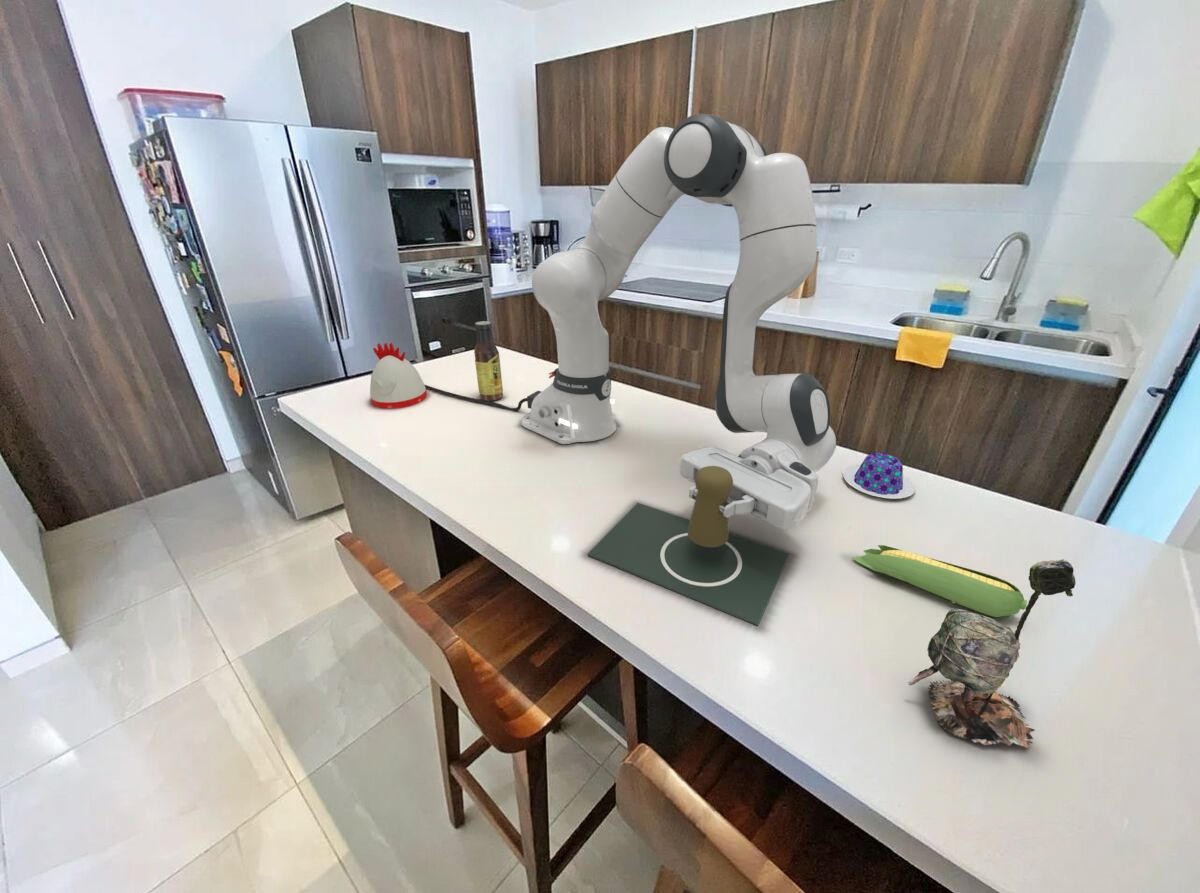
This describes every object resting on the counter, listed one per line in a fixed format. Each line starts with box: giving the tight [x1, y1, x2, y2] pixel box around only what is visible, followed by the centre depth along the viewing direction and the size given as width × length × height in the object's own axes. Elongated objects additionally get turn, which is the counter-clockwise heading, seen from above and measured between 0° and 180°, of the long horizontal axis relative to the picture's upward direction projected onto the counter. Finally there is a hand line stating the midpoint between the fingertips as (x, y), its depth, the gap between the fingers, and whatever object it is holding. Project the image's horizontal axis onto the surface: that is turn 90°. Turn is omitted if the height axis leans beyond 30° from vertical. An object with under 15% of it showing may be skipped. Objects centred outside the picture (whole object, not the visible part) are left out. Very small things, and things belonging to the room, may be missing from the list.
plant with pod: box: [907, 559, 1077, 749], centre depth 48 cm, size 8×11×20 cm
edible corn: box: [851, 544, 1028, 618], centre depth 68 cm, size 5×20×5 cm, turn 54°
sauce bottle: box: [473, 320, 504, 402], centre depth 128 cm, size 7×6×20 cm
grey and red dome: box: [369, 342, 428, 409], centre depth 129 cm, size 14×14×15 cm
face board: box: [587, 502, 790, 627], centre depth 75 cm, size 26×16×1 cm, turn 58°
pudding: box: [842, 452, 916, 500], centre depth 91 cm, size 12×12×5 cm
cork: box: [687, 466, 733, 547], centre depth 71 cm, size 6×6×11 cm
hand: (707, 503), depth 71 cm, fingers closed on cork, 4 cm apart
